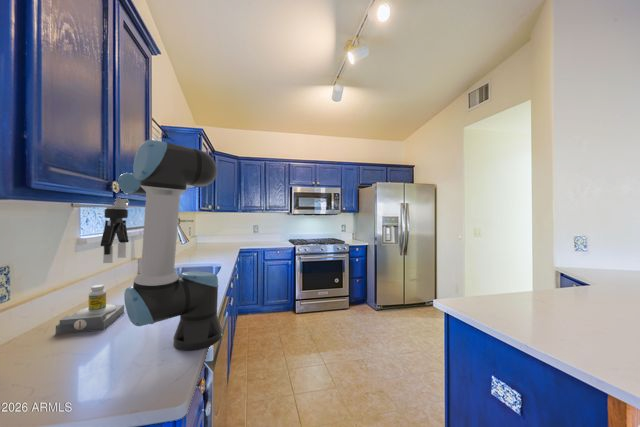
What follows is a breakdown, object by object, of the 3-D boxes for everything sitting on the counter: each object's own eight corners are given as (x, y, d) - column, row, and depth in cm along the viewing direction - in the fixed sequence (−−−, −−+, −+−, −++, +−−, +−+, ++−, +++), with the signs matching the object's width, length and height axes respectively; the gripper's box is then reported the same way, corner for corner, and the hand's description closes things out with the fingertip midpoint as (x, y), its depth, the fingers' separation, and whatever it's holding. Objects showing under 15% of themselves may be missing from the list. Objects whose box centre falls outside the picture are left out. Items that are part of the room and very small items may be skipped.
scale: (103, 330, 94) (103, 316, 94) (54, 334, 89) (55, 320, 89) (124, 311, 111) (124, 300, 111) (84, 314, 107) (84, 303, 107)
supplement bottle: (106, 306, 106) (107, 283, 106) (104, 310, 102) (105, 286, 102) (89, 308, 103) (90, 285, 104) (86, 313, 99) (87, 288, 99)
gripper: (115, 207, 95) (113, 264, 95) (137, 209, 118) (136, 255, 118) (90, 207, 92) (88, 265, 92) (117, 209, 116) (116, 256, 115)
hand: (115, 260), depth 105 cm, fingers open, 13 cm apart
